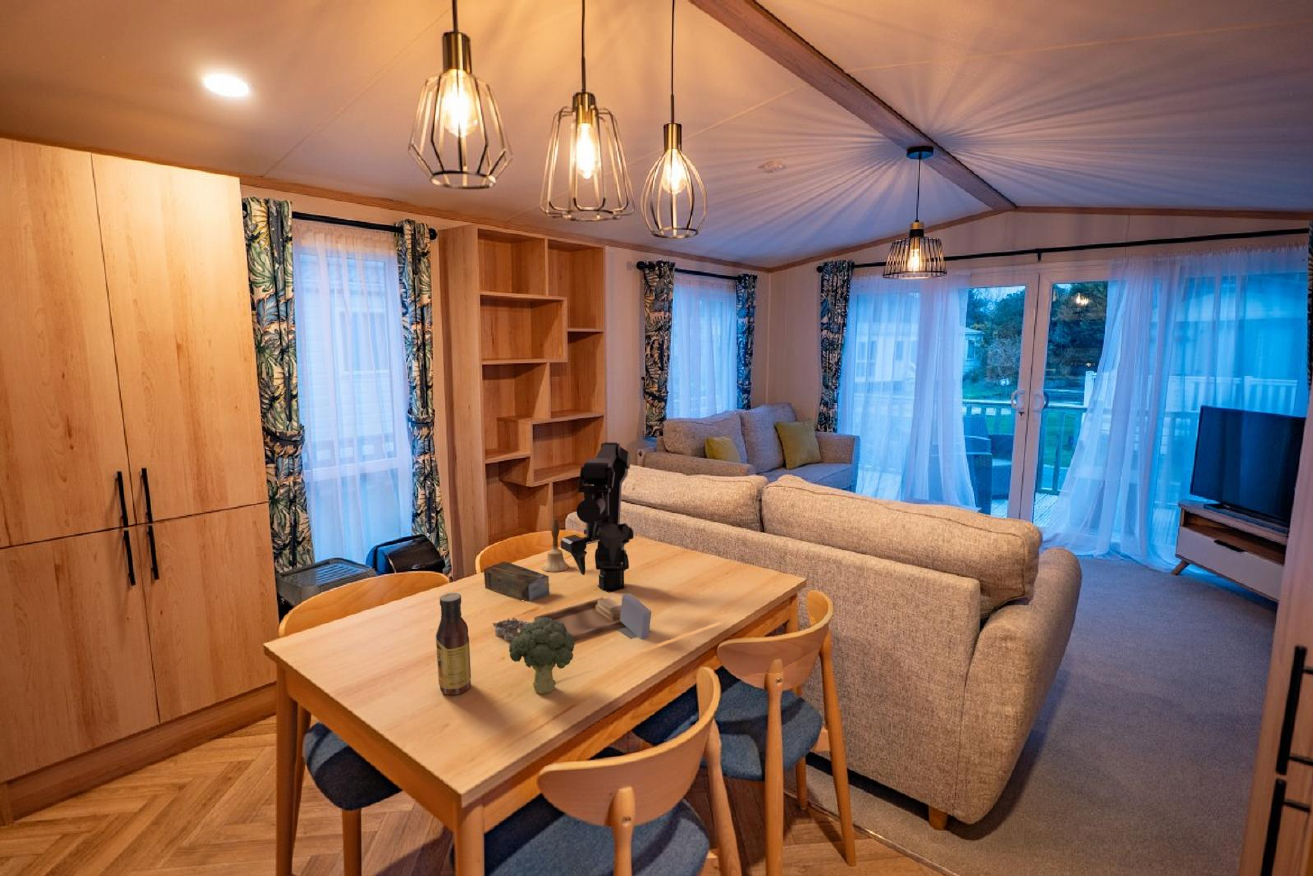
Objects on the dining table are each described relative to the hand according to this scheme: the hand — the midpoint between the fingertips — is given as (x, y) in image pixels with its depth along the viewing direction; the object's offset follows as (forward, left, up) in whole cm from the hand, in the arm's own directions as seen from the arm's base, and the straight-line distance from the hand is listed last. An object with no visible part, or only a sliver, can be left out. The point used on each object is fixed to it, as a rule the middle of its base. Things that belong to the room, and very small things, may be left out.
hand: (598, 570), depth 156 cm
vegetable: (+27, +23, -13) cm, 38 cm away
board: (-2, +13, -11) cm, 17 cm away
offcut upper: (-2, +2, -10) cm, 11 cm away
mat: (-2, +13, -12) cm, 18 cm away
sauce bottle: (+41, +12, -13) cm, 45 cm away
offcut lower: (-2, +2, -12) cm, 12 cm away
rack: (+5, +2, -12) cm, 13 cm away
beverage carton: (+10, -28, -13) cm, 32 cm away
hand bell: (-8, -38, -13) cm, 41 cm away
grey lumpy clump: (+22, -1, -13) cm, 26 cm away
